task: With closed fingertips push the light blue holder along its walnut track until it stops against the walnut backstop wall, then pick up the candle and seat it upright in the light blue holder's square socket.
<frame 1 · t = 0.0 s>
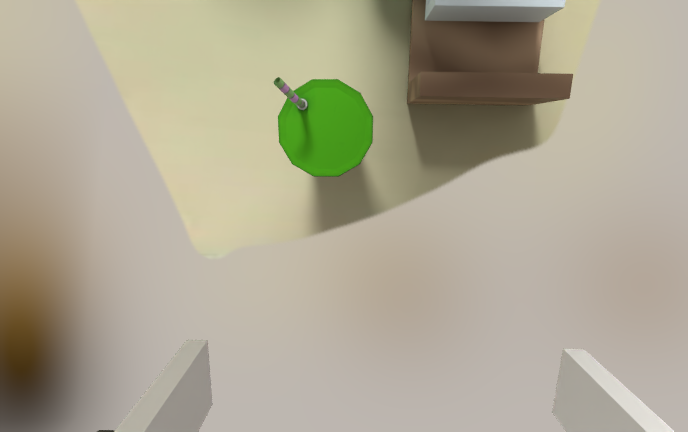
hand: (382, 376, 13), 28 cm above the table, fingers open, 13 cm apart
cup: (331, 131, 39), on the table
track: (475, 21, 36), on the table
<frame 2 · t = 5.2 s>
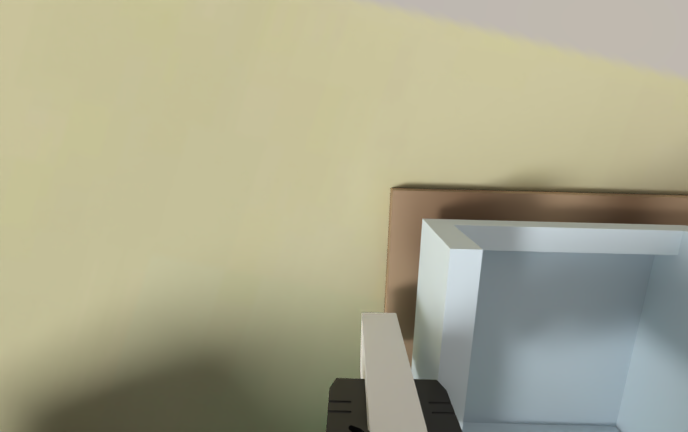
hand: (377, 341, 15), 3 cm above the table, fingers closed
track: (611, 321, 18), on the table
light blue holder: (556, 362, 14), point 4 cm above the table, slide at -4.8 cm, touching gripper
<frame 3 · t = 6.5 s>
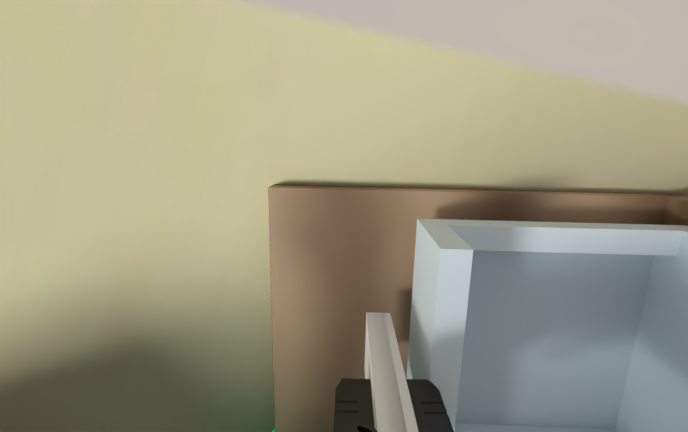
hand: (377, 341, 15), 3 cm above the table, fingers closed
track: (503, 319, 18), on the table
light blue holder: (552, 364, 14), point 4 cm above the table, slide at 0.5 cm, touching gripper, track
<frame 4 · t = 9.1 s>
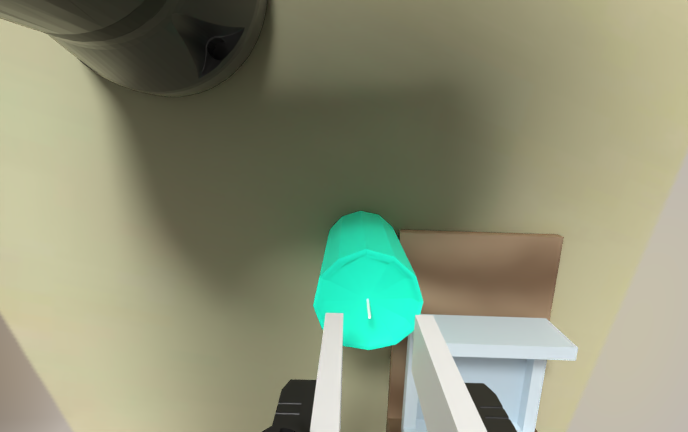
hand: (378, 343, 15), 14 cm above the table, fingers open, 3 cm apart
candle: (361, 245, 30), on the table
track: (463, 356, 31), on the table
light blue holder: (477, 389, 28), point 4 cm above the table, slide at 0.5 cm, touching track
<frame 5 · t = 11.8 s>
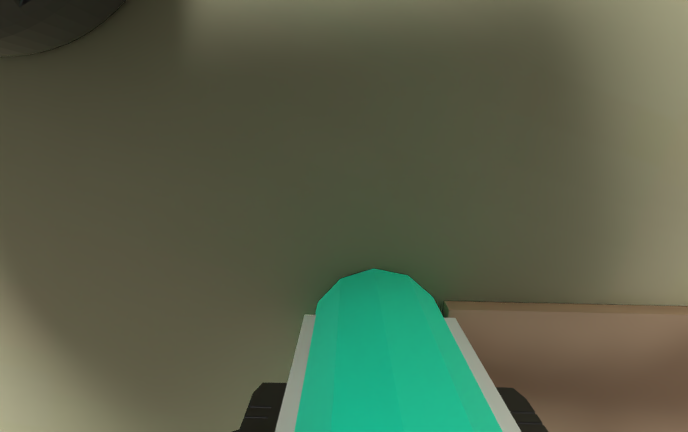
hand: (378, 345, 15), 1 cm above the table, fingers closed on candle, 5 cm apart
candle: (375, 327, 16), on the table, touching gripper
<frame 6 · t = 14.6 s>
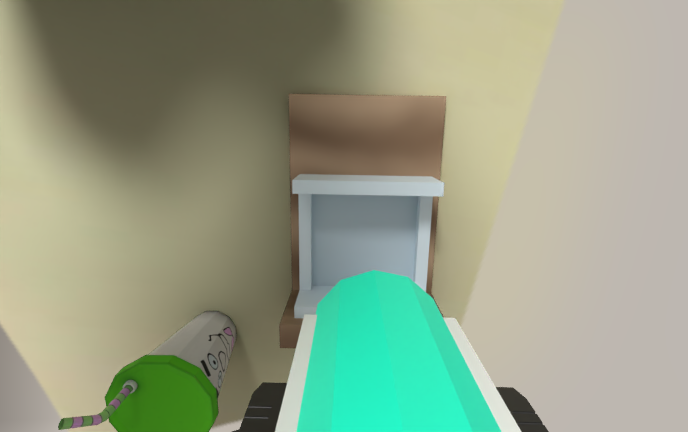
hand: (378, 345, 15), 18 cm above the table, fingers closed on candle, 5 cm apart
cup: (214, 330, 35), on the table
candle: (376, 328, 16), point 17 cm above the table, touching gripper
track: (362, 227, 32), on the table
light blue holder: (364, 244, 29), point 4 cm above the table, slide at 0.5 cm, touching track
when the fingers open (4 cm above the table, at t = 17.8 s): candle drops 1 cm, resting on light blue holder.
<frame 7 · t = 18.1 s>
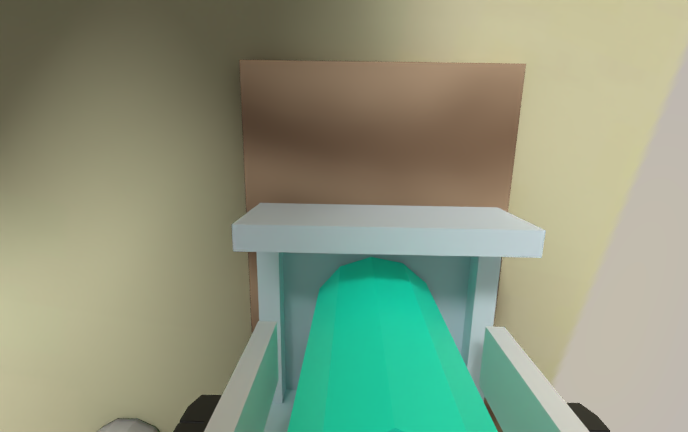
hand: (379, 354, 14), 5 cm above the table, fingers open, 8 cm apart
candle: (373, 311, 18), point 2 cm above the table, touching light blue holder
track: (372, 289, 19), on the table
light blue holder: (376, 331, 16), point 4 cm above the table, slide at 0.4 cm, touching candle
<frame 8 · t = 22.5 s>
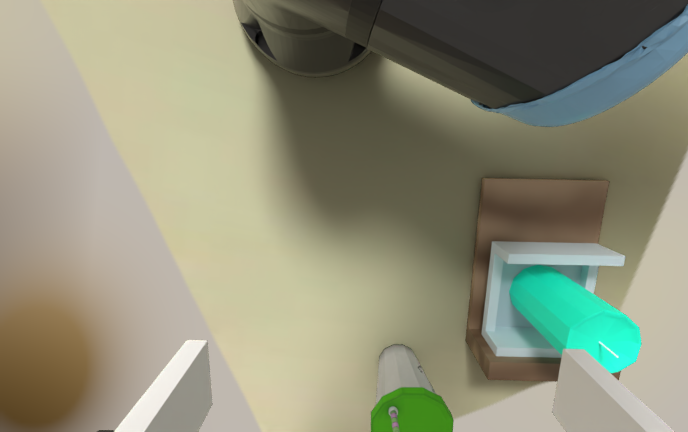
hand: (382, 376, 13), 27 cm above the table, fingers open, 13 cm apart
cup: (397, 359, 43), on the table
candle: (535, 289, 39), point 2 cm above the table, touching light blue holder
track: (528, 279, 40), on the table
light blue holder: (544, 296, 37), point 4 cm above the table, slide at 0.5 cm, touching candle, track
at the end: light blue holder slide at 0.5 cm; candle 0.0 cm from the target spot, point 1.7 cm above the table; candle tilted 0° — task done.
